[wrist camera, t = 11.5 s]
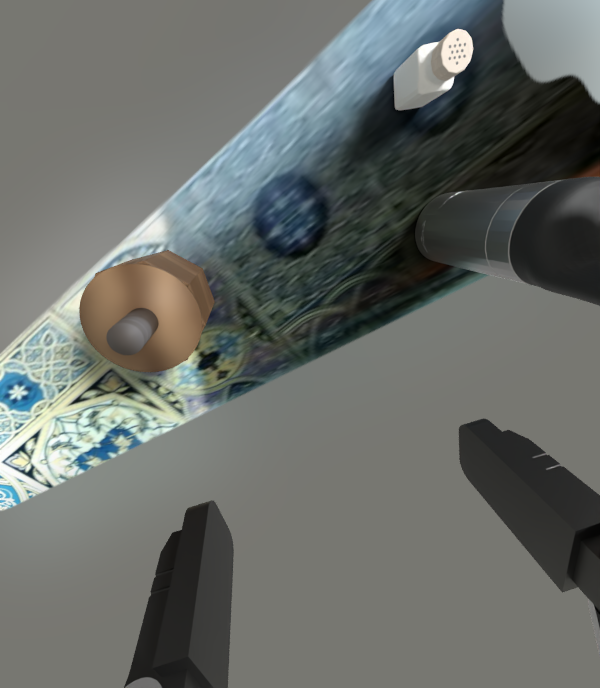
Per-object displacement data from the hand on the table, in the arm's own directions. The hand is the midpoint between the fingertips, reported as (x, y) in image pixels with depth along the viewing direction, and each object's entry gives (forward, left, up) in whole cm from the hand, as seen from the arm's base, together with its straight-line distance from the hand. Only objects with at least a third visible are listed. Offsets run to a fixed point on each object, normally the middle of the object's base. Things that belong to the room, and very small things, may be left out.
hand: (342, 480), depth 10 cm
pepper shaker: (-22, -17, -36) cm, 46 cm away
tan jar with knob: (+14, -1, -36) cm, 39 cm away
